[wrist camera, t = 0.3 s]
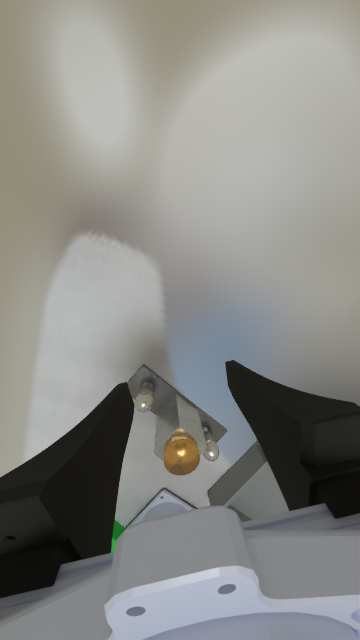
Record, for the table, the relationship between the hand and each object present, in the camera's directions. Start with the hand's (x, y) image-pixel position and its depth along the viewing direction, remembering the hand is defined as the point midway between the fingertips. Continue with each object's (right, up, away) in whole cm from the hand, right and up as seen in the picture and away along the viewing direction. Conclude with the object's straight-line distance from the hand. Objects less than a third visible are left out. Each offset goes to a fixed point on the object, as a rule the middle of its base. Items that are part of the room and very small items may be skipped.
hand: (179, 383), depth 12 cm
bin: (+15, -24, +16) cm, 32 cm away
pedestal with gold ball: (0, -8, +12) cm, 14 cm away
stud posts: (0, -8, +12) cm, 15 cm away
